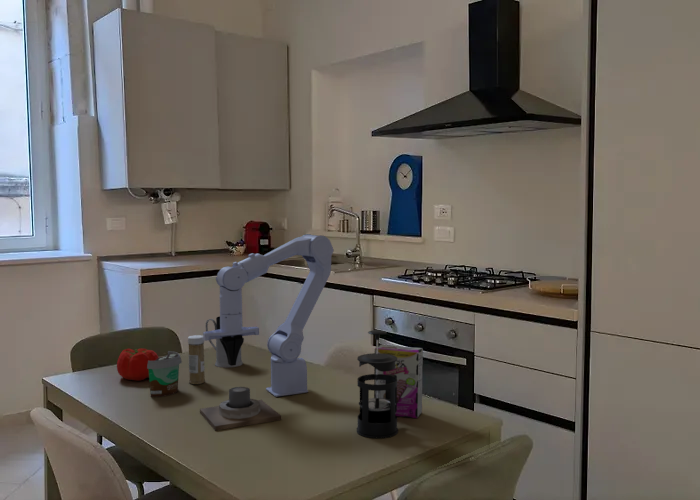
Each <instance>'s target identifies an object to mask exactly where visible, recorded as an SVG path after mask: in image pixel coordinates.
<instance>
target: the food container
mask: <svg viewBox="0 0 700 500" xmlns="http://www.w3.org/2000/svg"><path fill="white" fill-rule="evenodd" d="M158 357H159V358H158V359H156V360H155V361H148V364H147V369H149V378H148V379H149V391H150V394H149V395H150V397H151V398H159V397H161V398H162V397H167V396H172V395H175V394H176V393H178V390H179V389H178V388H179V375H180V372H179V371H180V364H182V363H183V361H182V358H181V355H180V353H179V352H176V351H174V350H173V351H171V350H168V351H167V354H166V355H164V356H158Z"/></svg>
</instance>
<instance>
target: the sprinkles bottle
mask: <svg viewBox="0 0 700 500" xmlns="http://www.w3.org/2000/svg"><path fill="white" fill-rule="evenodd" d="M187 344H188V372H189V376H188V377H189V381H188V383H189V384H190V385H202V384H204V383H205V382H206V379H205V378H206V377H205V375H206V374H205V349H204V348H205V347H204V345H205V340H204V339H203V334H202V335H200V334H194V335H189V336H188V337H187Z"/></svg>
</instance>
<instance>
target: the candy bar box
mask: <svg viewBox="0 0 700 500" xmlns="http://www.w3.org/2000/svg"><path fill="white" fill-rule="evenodd" d="M374 353H377V346H376V347H375V348H374ZM378 353H381V354H390V355H393V356H396V357H397V361H396V362H395V369H393V370H391V371H385V372H382V371H379V370H378V374H385V375H389V374H392V375H396V376H397V412H396V413H395V415H396V416H397V417H401V418H409V419H418V418H419V417H420V416H421V414H422V413H423V362H424V361H423V359H424V358H423V357H424V355H423V354H424V349H423V347H412V346H402V345H401V346H400V345H390V344H378ZM373 369H374V372H373V374H377V369H376V368H374V367H373ZM373 382H374V383H373V384H374V385H376V380H374V381H373ZM385 383H386V380H378V385H382V384H385ZM373 398H376V391H374V392H373ZM378 398H385V390H383V391H378Z"/></svg>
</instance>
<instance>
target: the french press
mask: <svg viewBox="0 0 700 500" xmlns="http://www.w3.org/2000/svg"><path fill="white" fill-rule="evenodd" d="M367 334H368V335H372V336H373V335H374V339H375V341H376V347H377V353H375V352H374V353H366V354H365V353H364V354H361V355H358V356H357V361H358V362H359V368H361V367H362V366H363V365H370V366H371V367H373V369H374V368H376V369H377V374H374V373H372V374H371V373H370V374H364V375H360V376H359V377H358V378H357V387H358V388H359V402H358V405H359V414H358V415H357V427H356V433H357V434H358V435H359V436H362V437H364V438H369V439H387V438H391V437H394V436H396V435H397V434H398V433H399V428H398V416H396V415H395V413H396V412H397V376H396V375H392V374H389V375H385V374H378V370H379V371H382V372H385V371H391V370H393V369H395V362H396V361H397V357H396V356H393V355H390V354H381V353H378V346H379V341H380V336H381V335H387V331H385V330H383V329H381V330H380V329H373V330H369V331H368V332H367ZM373 380H376V385H374V383H373V384H371V383H366V381H373ZM378 380H386V383H385V384H382V385H378ZM383 390H385V398H378V391H383ZM369 391H376V398H374V397H370V394H369Z"/></svg>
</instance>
